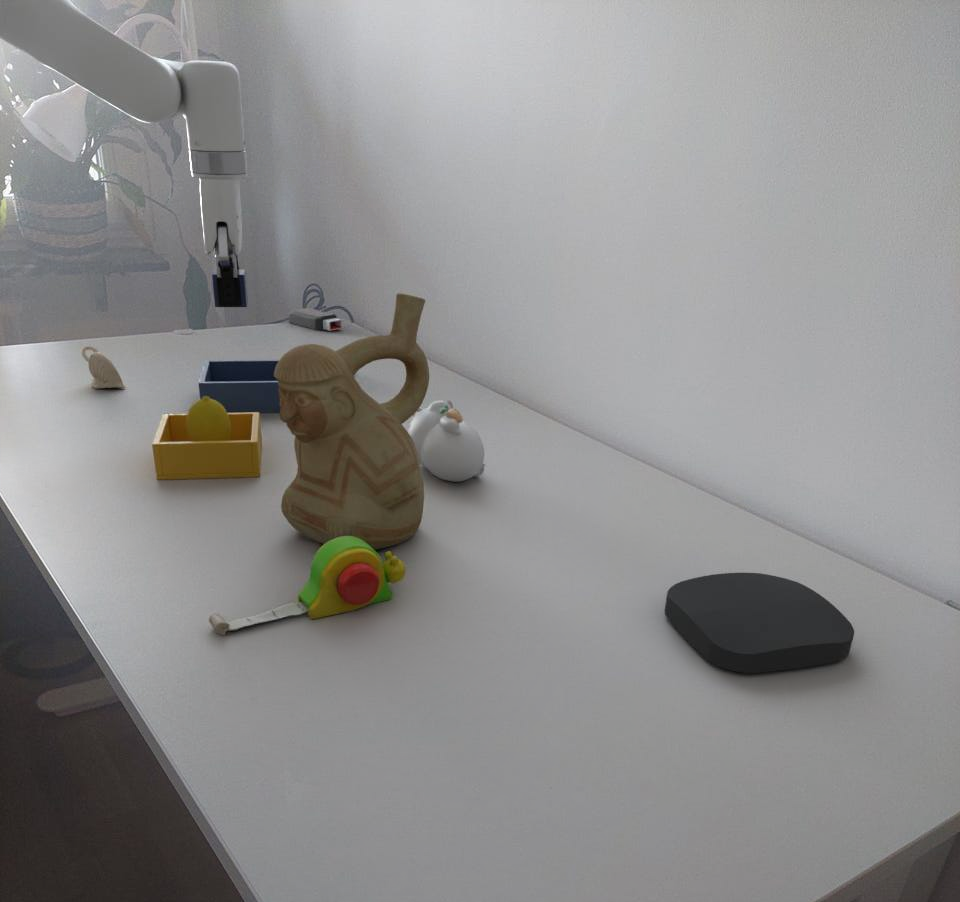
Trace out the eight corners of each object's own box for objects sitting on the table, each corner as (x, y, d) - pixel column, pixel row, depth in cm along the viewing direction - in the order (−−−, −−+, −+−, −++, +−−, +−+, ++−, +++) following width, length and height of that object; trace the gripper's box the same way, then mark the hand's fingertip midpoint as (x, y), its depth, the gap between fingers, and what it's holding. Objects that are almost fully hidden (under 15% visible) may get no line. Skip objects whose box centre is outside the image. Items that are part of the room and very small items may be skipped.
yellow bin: (157, 479, 121) (152, 444, 118) (167, 447, 131) (162, 413, 129) (260, 476, 123) (257, 441, 120) (262, 444, 133) (259, 412, 131)
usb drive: (308, 319, 204) (308, 305, 202) (345, 329, 197) (345, 315, 195) (288, 322, 200) (287, 308, 199) (325, 332, 193) (325, 318, 192)
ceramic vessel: (245, 532, 108) (223, 298, 95) (380, 490, 120) (376, 278, 107) (340, 583, 97) (329, 329, 85) (477, 532, 110) (485, 303, 97)
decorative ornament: (100, 392, 152) (95, 358, 150) (83, 380, 158) (77, 347, 155) (126, 389, 154) (121, 355, 152) (108, 377, 160) (103, 344, 157)
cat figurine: (482, 417, 116) (427, 372, 127) (429, 457, 116) (378, 408, 126) (510, 472, 123) (455, 426, 133) (460, 510, 123) (409, 460, 133)
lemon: (181, 456, 127) (174, 395, 123) (218, 447, 130) (212, 388, 126) (205, 467, 123) (198, 405, 119) (242, 457, 127) (236, 397, 123)
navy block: (246, 307, 141) (244, 274, 138) (214, 307, 140) (211, 274, 138) (247, 301, 144) (245, 269, 142) (216, 301, 144) (213, 269, 141)
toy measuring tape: (419, 603, 94) (419, 542, 91) (222, 648, 86) (215, 582, 82) (391, 577, 99) (390, 518, 96) (202, 617, 90) (194, 553, 87)
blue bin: (201, 413, 145) (198, 383, 142) (207, 388, 156) (204, 360, 154) (294, 412, 147) (292, 382, 145) (293, 387, 158) (291, 359, 156)
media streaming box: (722, 682, 84) (727, 652, 82) (650, 605, 96) (654, 577, 94) (866, 662, 87) (874, 633, 86) (779, 590, 100) (785, 564, 98)
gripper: (195, 160, 140) (209, 292, 149) (185, 169, 125) (200, 315, 134) (248, 161, 141) (259, 292, 150) (244, 170, 126) (255, 315, 136)
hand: (231, 301), depth 142 cm, fingers closed on navy block, 4 cm apart
